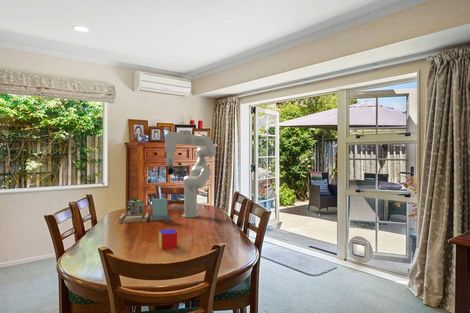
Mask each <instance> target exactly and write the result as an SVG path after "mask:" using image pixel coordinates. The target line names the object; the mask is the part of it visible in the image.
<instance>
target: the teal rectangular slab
mask: <svg viewBox="0 0 470 313" xmlns="http://www.w3.org/2000/svg"><path fill="white" fill-rule="evenodd" d="M152 215H153V216H167V215H168V198H152Z"/></svg>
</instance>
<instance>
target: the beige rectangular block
mask: <svg viewBox="0 0 470 313" xmlns="http://www.w3.org/2000/svg"><path fill="white" fill-rule="evenodd" d="M142 221H143V218H142V216H127V217H126V219H124V222H127V223H143V222H142Z"/></svg>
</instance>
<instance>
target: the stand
mask: <svg viewBox="0 0 470 313" xmlns="http://www.w3.org/2000/svg"><path fill="white" fill-rule="evenodd" d="M149 221H150V222H151V221H152V222H153V221H154V222H155V221H157V222H158V221H163V223H171V214H167V216H153V214H151V215H149Z"/></svg>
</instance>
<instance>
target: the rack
mask: <svg viewBox="0 0 470 313" xmlns="http://www.w3.org/2000/svg"><path fill="white" fill-rule="evenodd" d="M149 214H150V213H149V212H146V214H145V213H144V214H139V215H127V214H126V213H122V215H121V216H120V217H118V222H119V223H121V224H123V223H127V224H128V222H124V219H126V217H127V216H142V218H143V221H142V222H141V223H146V222H148V219H149V218H150V215H149Z"/></svg>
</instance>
